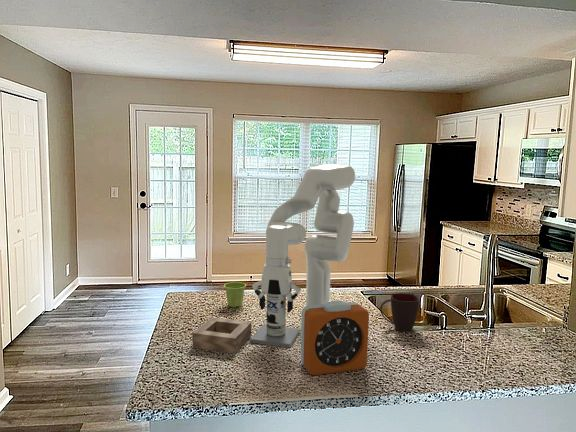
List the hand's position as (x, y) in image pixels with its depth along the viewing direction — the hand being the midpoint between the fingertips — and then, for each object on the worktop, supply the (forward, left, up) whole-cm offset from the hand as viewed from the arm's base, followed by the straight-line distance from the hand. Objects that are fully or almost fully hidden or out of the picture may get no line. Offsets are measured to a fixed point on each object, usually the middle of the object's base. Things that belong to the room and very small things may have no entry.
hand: (276, 309), depth 156 cm
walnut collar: (+16, +9, -10) cm, 21 cm away
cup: (-41, -21, -10) cm, 47 cm away
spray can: (0, 0, -9) cm, 9 cm away
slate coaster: (0, 0, -10) cm, 10 cm away
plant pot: (+26, -27, -10) cm, 39 cm away
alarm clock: (-23, +16, -10) cm, 30 cm away
